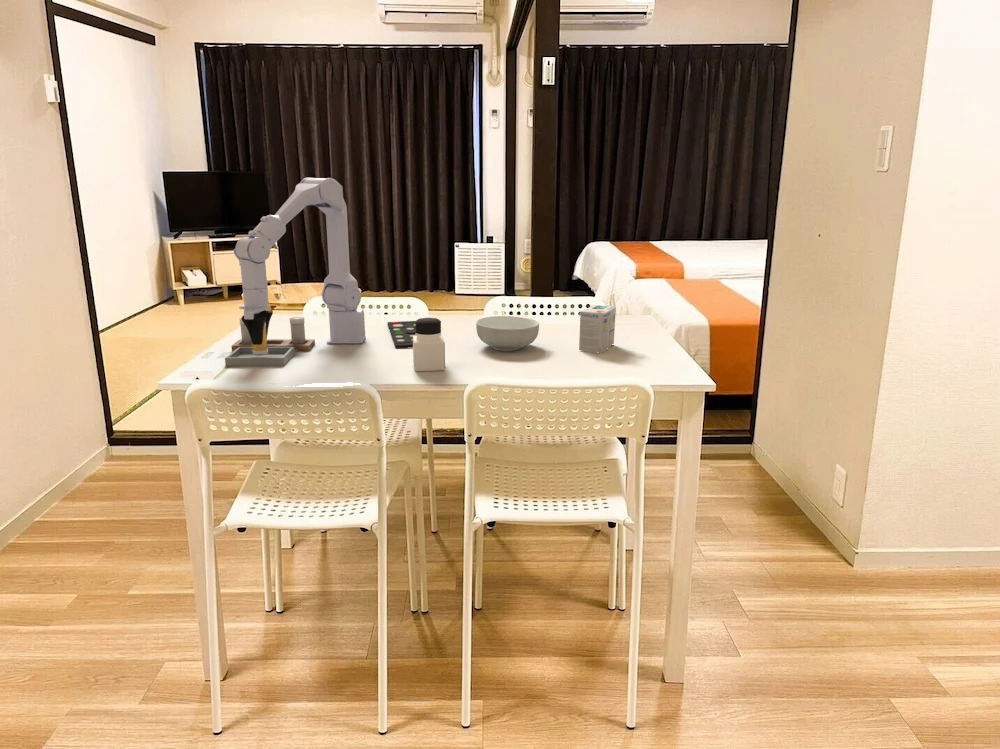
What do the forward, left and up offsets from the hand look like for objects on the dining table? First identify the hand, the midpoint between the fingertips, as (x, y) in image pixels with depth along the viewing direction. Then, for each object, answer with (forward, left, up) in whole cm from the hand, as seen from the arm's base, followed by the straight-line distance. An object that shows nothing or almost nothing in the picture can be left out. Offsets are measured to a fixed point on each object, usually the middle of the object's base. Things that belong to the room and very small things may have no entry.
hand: (259, 342), depth 178 cm
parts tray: (0, 0, -4) cm, 4 cm away
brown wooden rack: (0, -12, -4) cm, 13 cm away
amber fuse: (0, 0, -3) cm, 3 cm away
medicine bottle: (-42, +8, -5) cm, 43 cm away
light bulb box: (-86, -11, -5) cm, 87 cm away
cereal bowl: (-62, -12, -5) cm, 63 cm away
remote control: (-35, -27, -5) cm, 45 cm away
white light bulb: (+7, -12, -4) cm, 15 cm away
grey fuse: (-6, -12, -4) cm, 15 cm away
